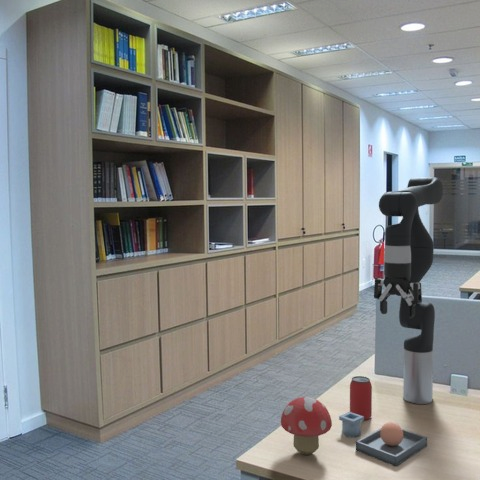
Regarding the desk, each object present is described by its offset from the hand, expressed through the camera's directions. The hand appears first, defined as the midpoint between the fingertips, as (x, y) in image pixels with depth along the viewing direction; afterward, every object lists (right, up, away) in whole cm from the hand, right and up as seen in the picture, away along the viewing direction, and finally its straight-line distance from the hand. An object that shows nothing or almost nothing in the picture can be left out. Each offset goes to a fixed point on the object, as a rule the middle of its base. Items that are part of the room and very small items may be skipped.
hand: (396, 315), depth 153 cm
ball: (-5, -33, -13) cm, 36 cm away
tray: (-5, -34, -13) cm, 37 cm away
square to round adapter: (-14, -34, -3) cm, 36 cm away
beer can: (-9, -33, +9) cm, 35 cm away
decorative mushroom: (-29, -35, -15) cm, 47 cm away
